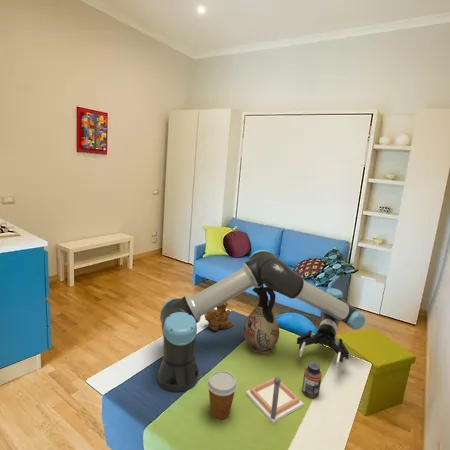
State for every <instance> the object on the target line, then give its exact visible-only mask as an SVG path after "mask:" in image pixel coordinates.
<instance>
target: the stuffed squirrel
mask: <svg viewBox="0 0 450 450" xmlns="http://www.w3.org/2000/svg"><path fill="white" fill-rule="evenodd" d="M227 307H228V308H229V307H230V305H229V303H228V301H226V302H225V303H223V304H221V305H219V306H218V307H216V308H214V309H212V310H211V311H209V312H207V313H205V314H204V315H203V316H204V319H205V321H207V322H208V328H209V329H211V330H212V331H214V332H217V331H218V330H227V329H230V328H232V327H233V326H235V325H234V322H232V321H229V316H230V314H231V310H230V309H227Z"/></svg>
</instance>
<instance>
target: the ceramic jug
mask: <svg viewBox="0 0 450 450" xmlns="http://www.w3.org/2000/svg"><path fill="white" fill-rule="evenodd" d="M252 292H253V293H255V294H256V295H257V296H258V297H259V301H258V304H257V305H256V306H255V307H254V308H253V309H252V311H251V312H249V313H250V314H248V316H247V318H246V320H245V323H244V325H243V337H244V340H245V341H246V343H247V344H248V345H249V347H250V349H251V350H252V351H253V352H255V353H258V354H269V353H270V352H271V350H272V348H273V347H275V345H276V344H277V343H278V342H279V337H280V328H279V324H278V320H277V318H276V316H275V314H274V313H273V308H274V305H275V303H276V293H275V291H274V290H272V289H270V288H268V287H267V286H265V285H264V284H263V285H262V286H260V287H258V288H256V287H253V289H252Z"/></svg>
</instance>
